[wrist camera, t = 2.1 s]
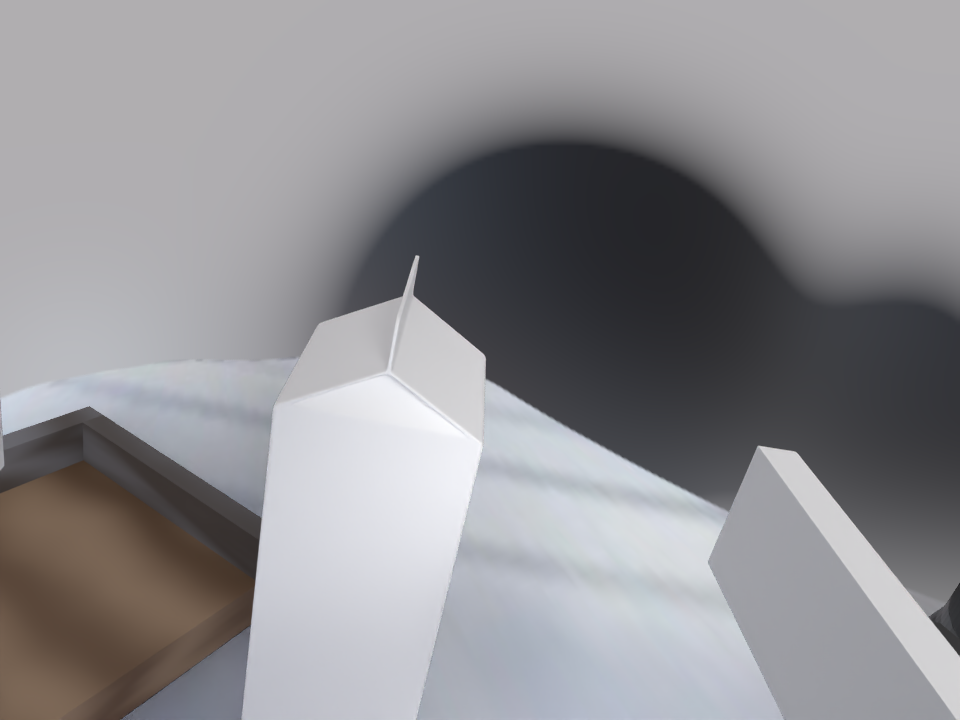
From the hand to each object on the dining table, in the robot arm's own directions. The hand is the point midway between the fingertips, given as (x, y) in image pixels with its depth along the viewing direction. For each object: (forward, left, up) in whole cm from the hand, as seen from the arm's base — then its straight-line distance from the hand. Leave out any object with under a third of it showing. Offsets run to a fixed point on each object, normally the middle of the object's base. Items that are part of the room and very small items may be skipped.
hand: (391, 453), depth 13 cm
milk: (-8, -6, -23) cm, 25 cm away
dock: (-5, -21, -22) cm, 31 cm away
